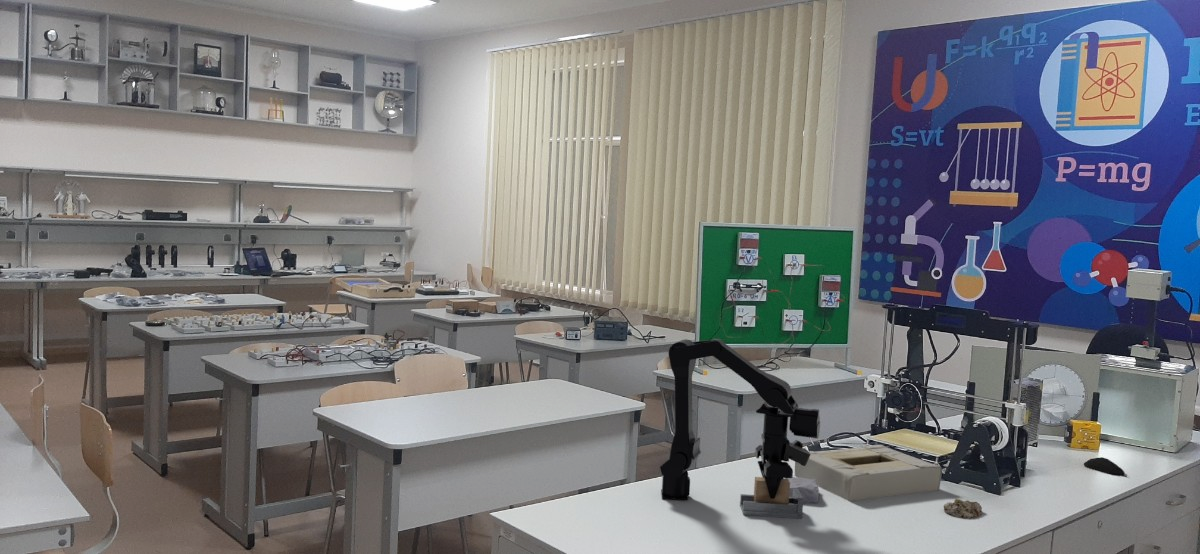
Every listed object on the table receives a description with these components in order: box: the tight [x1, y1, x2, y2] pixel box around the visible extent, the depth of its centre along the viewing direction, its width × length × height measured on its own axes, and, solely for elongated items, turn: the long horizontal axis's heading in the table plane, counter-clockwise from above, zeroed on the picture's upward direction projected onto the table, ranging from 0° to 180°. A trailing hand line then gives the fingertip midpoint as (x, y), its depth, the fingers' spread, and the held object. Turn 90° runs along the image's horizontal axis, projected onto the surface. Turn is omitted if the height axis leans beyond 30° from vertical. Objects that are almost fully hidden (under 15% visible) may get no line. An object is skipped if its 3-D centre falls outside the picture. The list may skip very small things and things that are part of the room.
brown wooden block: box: [753, 476, 790, 503], centre depth 213 cm, size 8×3×7 cm, turn 88°
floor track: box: [739, 489, 804, 519], centre depth 213 cm, size 14×7×5 cm, turn 88°
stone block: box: [784, 476, 820, 504], centre depth 227 cm, size 12×5×10 cm
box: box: [794, 444, 943, 502], centre depth 241 cm, size 23×8×32 cm
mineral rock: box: [943, 498, 983, 519], centre depth 219 cm, size 11×4×8 cm
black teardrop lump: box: [1083, 457, 1130, 479], centre depth 264 cm, size 6×15×4 cm, turn 24°
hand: (771, 495), depth 213 cm, fingers open, 4 cm apart
